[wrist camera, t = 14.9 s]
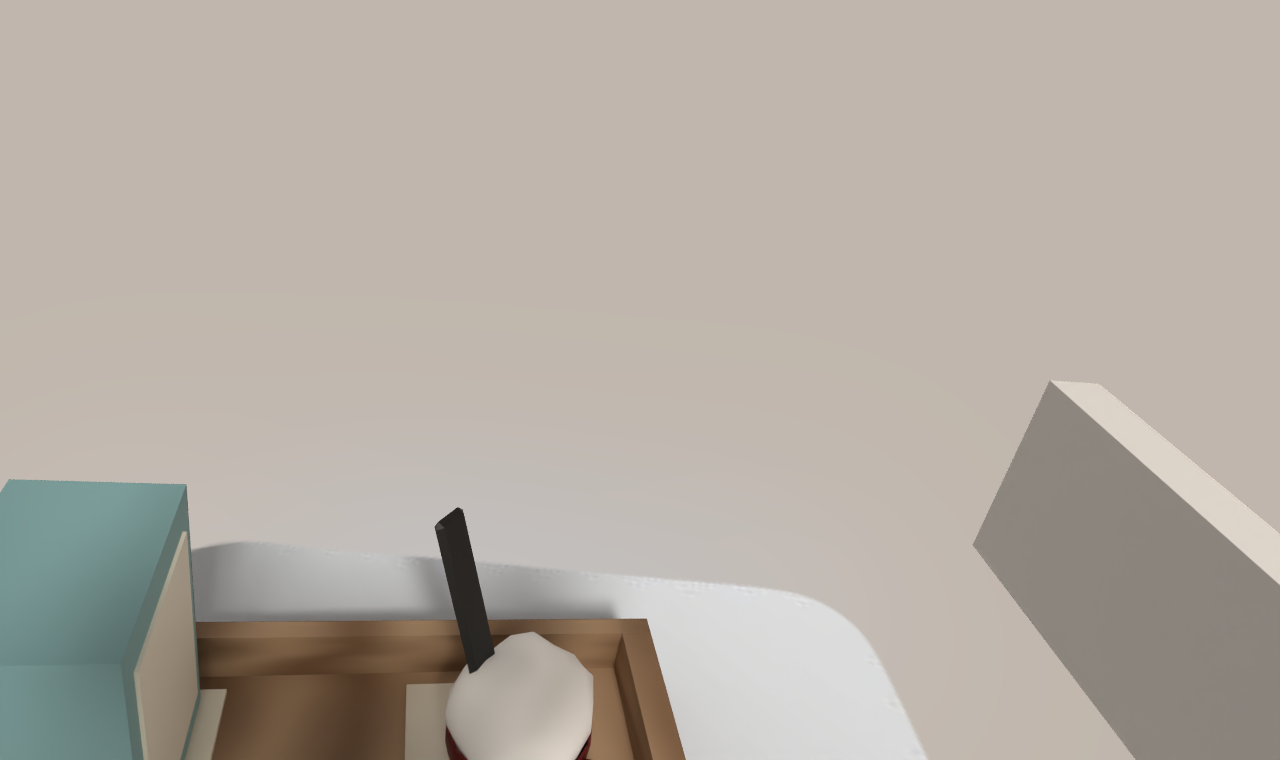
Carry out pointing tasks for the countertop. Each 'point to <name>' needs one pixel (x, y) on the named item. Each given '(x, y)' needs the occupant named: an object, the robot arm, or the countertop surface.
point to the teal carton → (96, 621)
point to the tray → (402, 688)
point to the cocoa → (508, 678)
